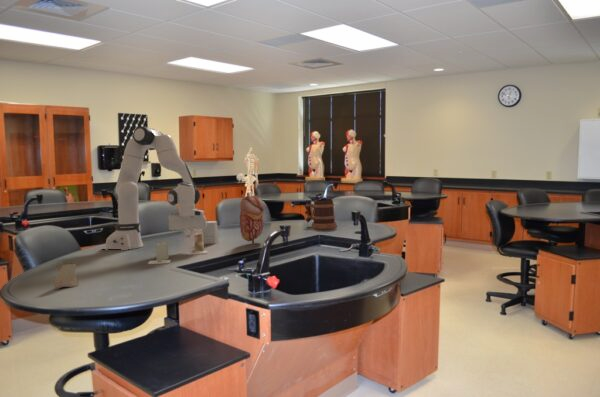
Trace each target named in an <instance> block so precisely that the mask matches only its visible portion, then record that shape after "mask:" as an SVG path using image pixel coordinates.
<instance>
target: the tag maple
mask: <svg viewBox="0 0 600 397" xmlns="http://www.w3.org/2000/svg"><path fill="white" fill-rule="evenodd" d="M206 254H208V250H203V251H195V250H194V251H188V252H187V255H188V256H191V255H206Z"/></svg>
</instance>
